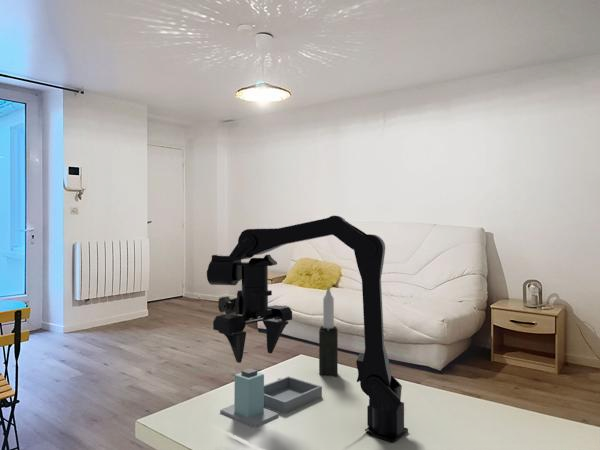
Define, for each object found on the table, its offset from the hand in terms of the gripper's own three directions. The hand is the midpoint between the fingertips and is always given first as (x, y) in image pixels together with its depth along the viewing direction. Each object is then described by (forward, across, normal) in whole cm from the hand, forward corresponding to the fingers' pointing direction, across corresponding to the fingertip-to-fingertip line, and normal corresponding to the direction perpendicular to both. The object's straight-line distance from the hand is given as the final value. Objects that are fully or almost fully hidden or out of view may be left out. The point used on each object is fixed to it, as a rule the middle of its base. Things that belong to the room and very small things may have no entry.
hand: (254, 357), depth 93 cm
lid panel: (+13, +1, -1) cm, 13 cm away
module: (+12, +1, -1) cm, 12 cm away
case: (+13, -11, -1) cm, 17 cm away
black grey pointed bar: (+13, -32, -5) cm, 35 cm away
